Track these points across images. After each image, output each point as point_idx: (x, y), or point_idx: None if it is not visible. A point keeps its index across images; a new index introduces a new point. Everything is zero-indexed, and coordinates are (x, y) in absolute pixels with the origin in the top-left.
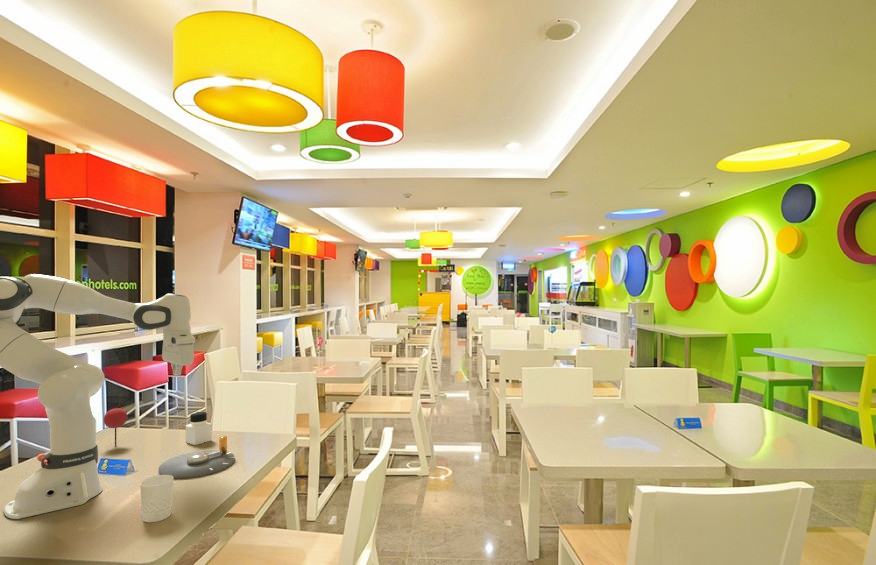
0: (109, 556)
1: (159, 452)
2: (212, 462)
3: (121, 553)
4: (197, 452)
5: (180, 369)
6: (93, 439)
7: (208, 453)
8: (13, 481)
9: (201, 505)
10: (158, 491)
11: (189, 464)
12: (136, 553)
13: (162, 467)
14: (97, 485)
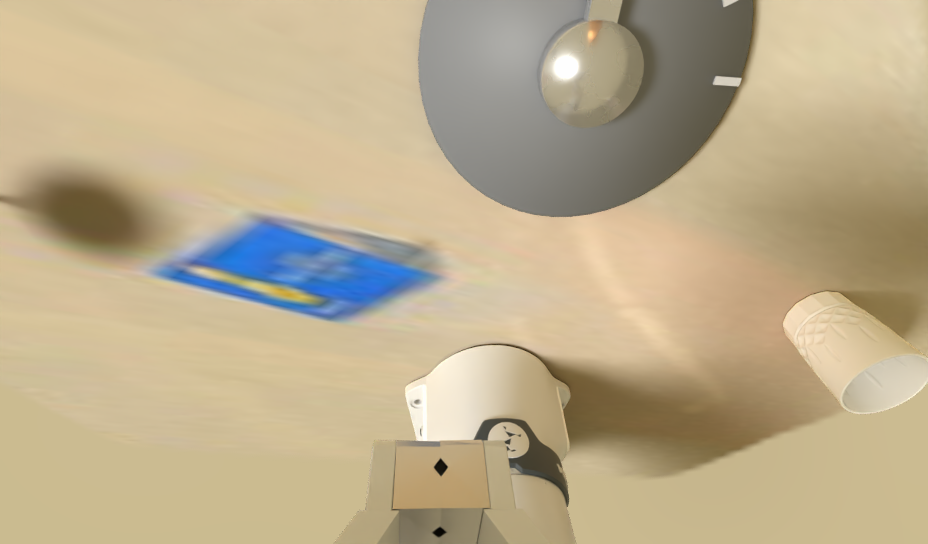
0: None
1: (239, 100)
2: (659, 27)
3: None
4: (551, 55)
5: (534, 540)
6: (558, 511)
7: (619, 25)
8: (242, 445)
9: (891, 227)
10: (902, 378)
11: None
12: None
13: (513, 195)
14: (533, 374)
